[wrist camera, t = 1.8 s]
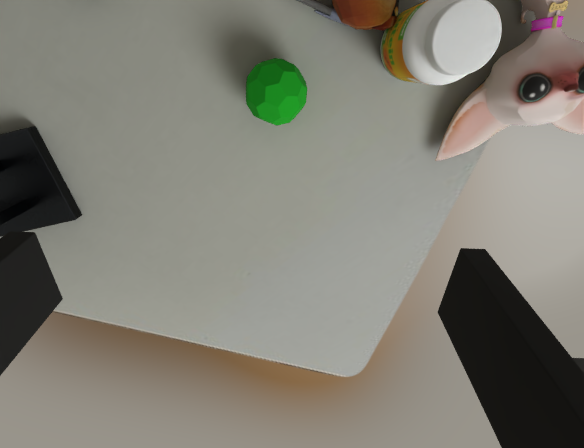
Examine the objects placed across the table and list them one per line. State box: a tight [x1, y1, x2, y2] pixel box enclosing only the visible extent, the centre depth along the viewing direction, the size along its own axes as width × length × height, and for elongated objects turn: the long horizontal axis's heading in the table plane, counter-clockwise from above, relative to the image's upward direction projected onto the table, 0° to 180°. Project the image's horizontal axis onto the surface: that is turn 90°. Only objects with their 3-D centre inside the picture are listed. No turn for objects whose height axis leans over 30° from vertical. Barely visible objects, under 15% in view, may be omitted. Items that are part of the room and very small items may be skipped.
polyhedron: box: [246, 58, 307, 125], centre depth 28 cm, size 5×5×5 cm
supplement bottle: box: [380, 0, 502, 85], centre depth 24 cm, size 5×5×10 cm
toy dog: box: [435, 0, 584, 161], centre depth 26 cm, size 15×8×15 cm
